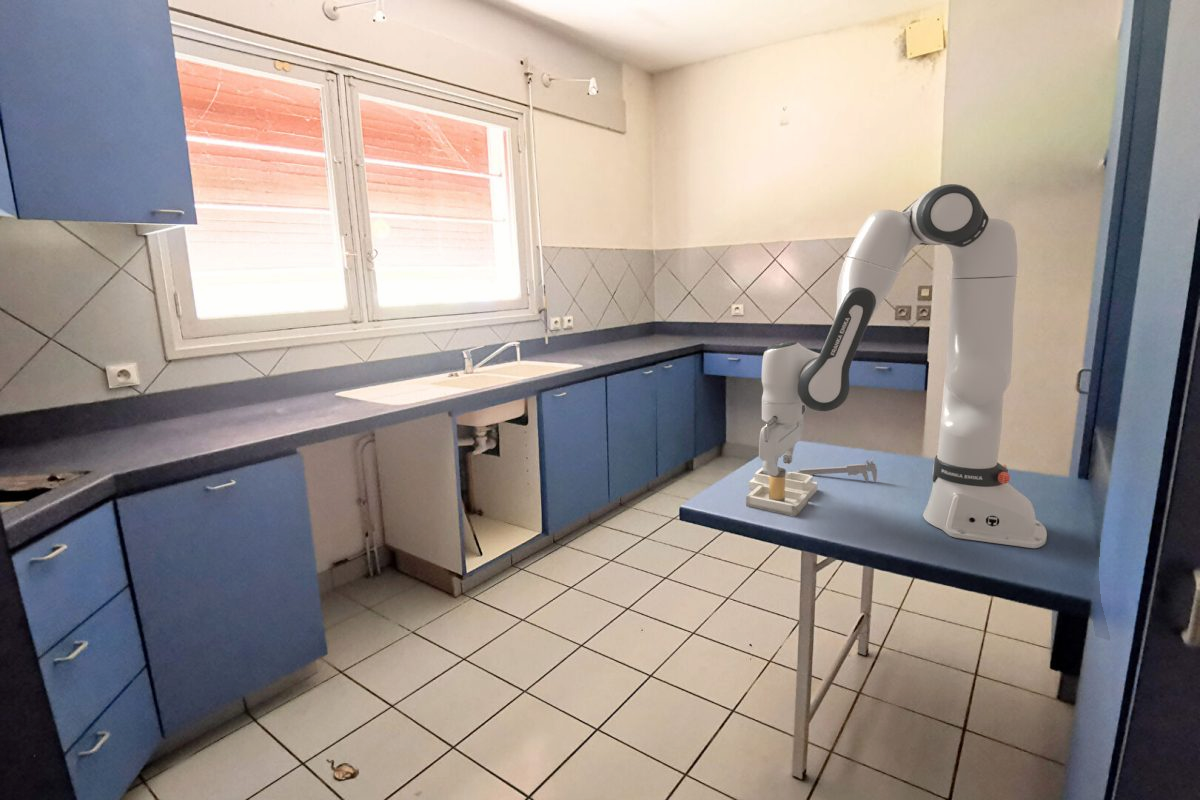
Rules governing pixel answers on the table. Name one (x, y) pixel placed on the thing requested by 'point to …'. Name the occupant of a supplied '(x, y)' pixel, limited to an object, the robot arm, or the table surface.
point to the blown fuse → (777, 486)
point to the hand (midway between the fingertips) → (781, 468)
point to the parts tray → (790, 507)
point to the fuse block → (786, 481)
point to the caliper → (845, 470)
